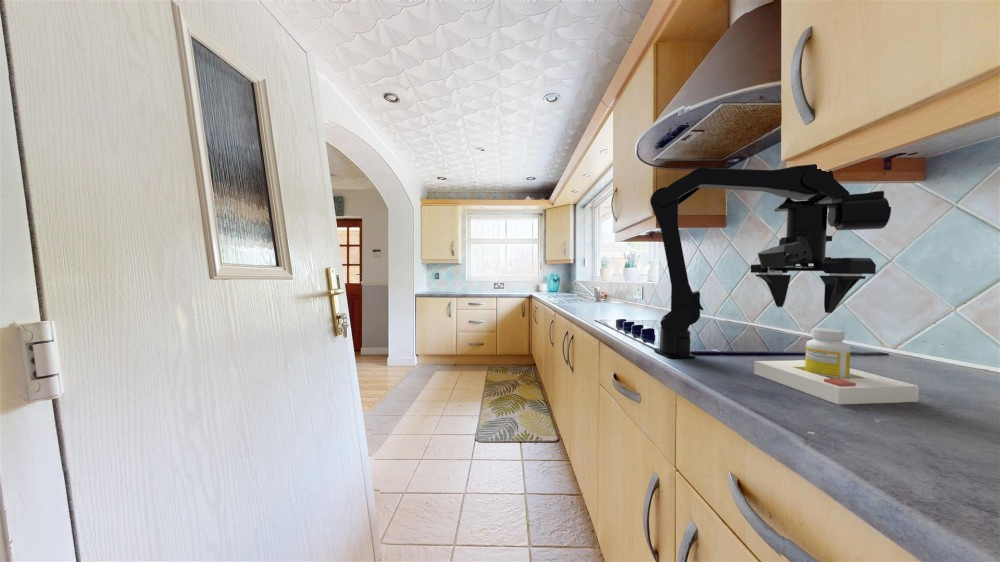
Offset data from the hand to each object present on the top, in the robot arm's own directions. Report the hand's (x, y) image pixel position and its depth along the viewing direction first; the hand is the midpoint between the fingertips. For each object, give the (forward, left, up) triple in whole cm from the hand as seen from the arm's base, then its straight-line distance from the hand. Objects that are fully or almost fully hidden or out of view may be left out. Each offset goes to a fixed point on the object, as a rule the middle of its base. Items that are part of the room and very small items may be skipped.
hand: (802, 309), depth 63 cm
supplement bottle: (+8, -4, -12) cm, 15 cm away
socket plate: (+8, -4, -12) cm, 15 cm away
